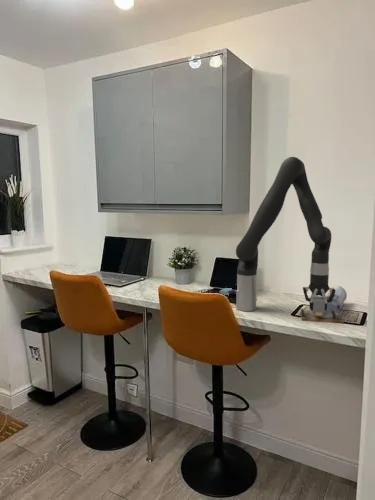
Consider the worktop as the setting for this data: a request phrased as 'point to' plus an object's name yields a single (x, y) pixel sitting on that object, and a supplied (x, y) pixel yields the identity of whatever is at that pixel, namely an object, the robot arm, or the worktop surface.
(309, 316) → the rail board
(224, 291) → the pistol
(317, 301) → the din module
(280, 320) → the worktop surface
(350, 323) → the worktop surface
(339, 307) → the pencil case
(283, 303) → the worktop surface
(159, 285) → the worktop surface
